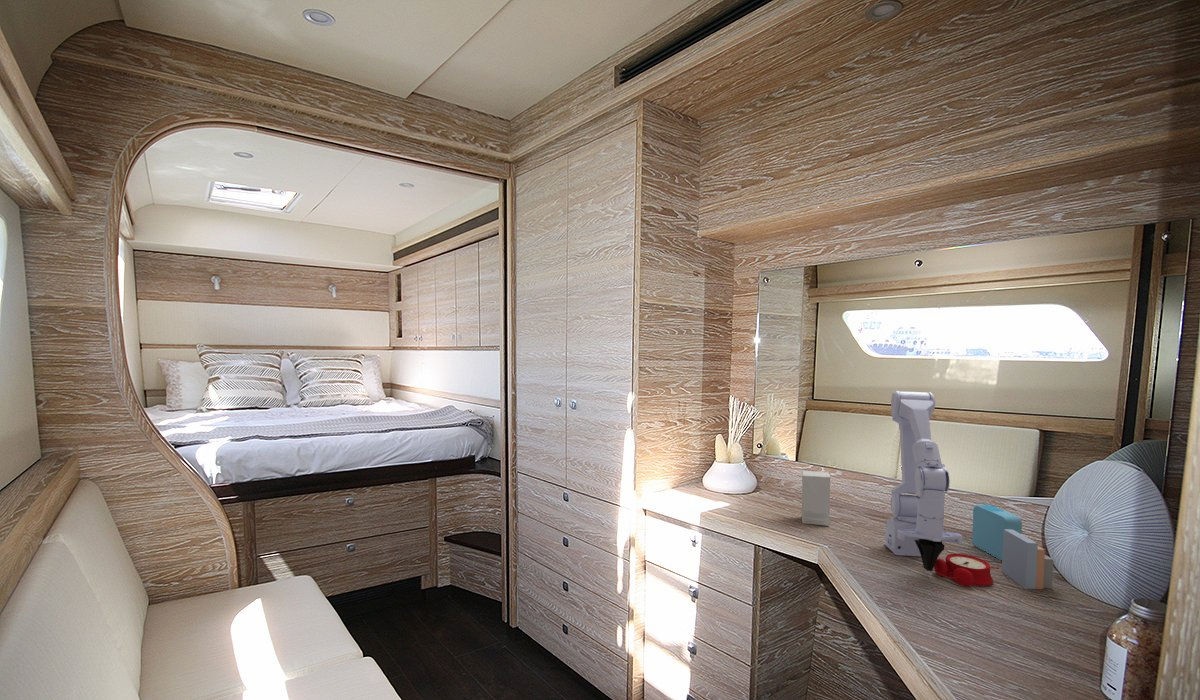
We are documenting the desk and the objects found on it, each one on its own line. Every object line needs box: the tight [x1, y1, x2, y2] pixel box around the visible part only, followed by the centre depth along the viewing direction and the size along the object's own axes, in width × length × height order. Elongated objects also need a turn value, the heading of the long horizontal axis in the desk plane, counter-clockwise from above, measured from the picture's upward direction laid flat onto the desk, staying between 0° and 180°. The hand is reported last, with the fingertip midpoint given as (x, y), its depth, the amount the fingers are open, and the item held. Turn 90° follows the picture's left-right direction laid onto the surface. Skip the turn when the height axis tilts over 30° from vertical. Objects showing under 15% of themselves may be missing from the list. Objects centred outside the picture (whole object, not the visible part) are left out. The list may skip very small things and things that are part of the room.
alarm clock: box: [933, 553, 1000, 588], centre depth 135 cm, size 10×6×15 cm
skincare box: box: [801, 470, 831, 527], centre depth 172 cm, size 8×7×16 cm
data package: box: [971, 504, 1023, 561], centre depth 150 cm, size 12×4×12 cm, turn 3°
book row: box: [1001, 529, 1054, 590], centre depth 134 cm, size 6×9×11 cm
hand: (927, 569), depth 136 cm, fingers closed
